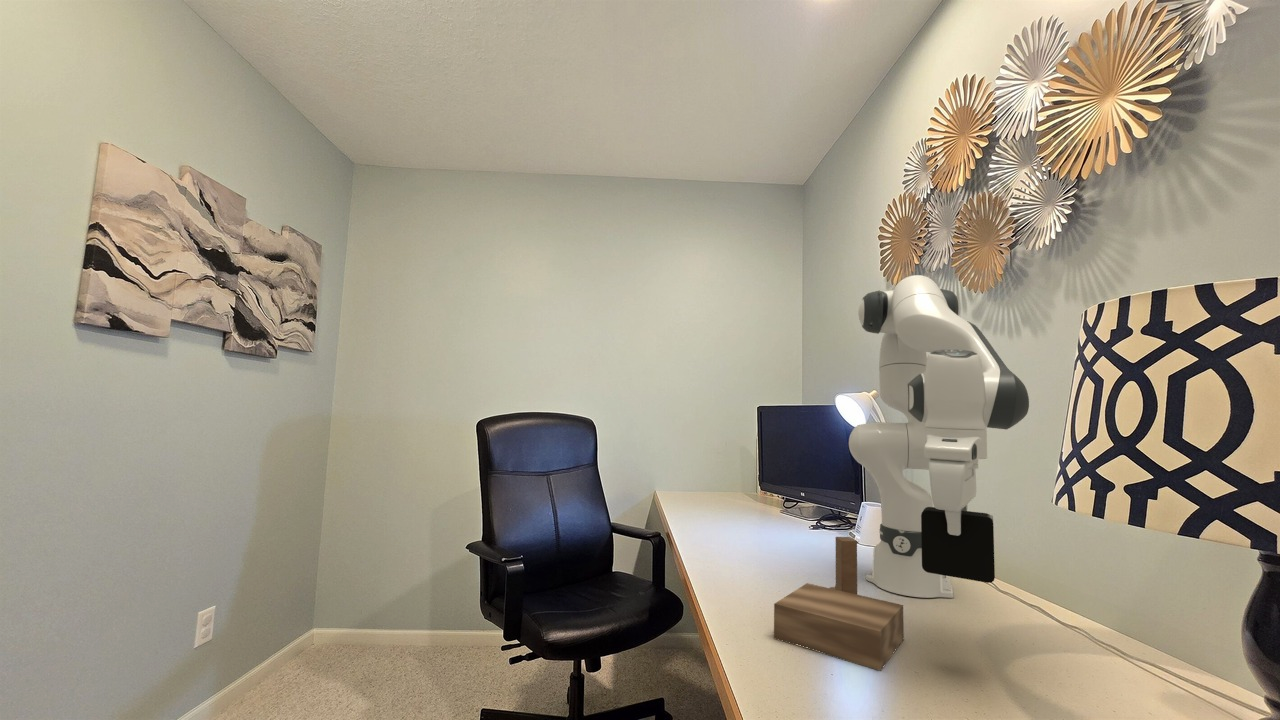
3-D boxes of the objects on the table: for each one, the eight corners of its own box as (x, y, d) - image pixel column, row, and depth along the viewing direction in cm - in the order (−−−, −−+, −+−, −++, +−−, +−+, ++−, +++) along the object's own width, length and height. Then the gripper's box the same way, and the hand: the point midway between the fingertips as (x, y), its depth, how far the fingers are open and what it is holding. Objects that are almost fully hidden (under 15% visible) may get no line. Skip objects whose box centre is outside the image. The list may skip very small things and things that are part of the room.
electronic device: (924, 565, 91) (923, 506, 92) (994, 577, 86) (992, 513, 87) (921, 571, 88) (920, 509, 89) (994, 584, 82) (993, 517, 83)
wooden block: (857, 616, 108) (857, 540, 109) (842, 616, 107) (841, 540, 109) (844, 605, 114) (843, 533, 116) (828, 604, 114) (828, 532, 115)
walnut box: (806, 613, 108) (806, 583, 109) (903, 639, 97) (903, 605, 98) (773, 638, 96) (774, 603, 96) (880, 670, 85) (880, 631, 85)
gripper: (944, 442, 98) (945, 519, 97) (921, 447, 82) (923, 539, 81) (984, 445, 95) (986, 524, 93) (969, 450, 79) (971, 547, 77)
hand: (957, 531), depth 87 cm, fingers closed on electronic device, 3 cm apart
